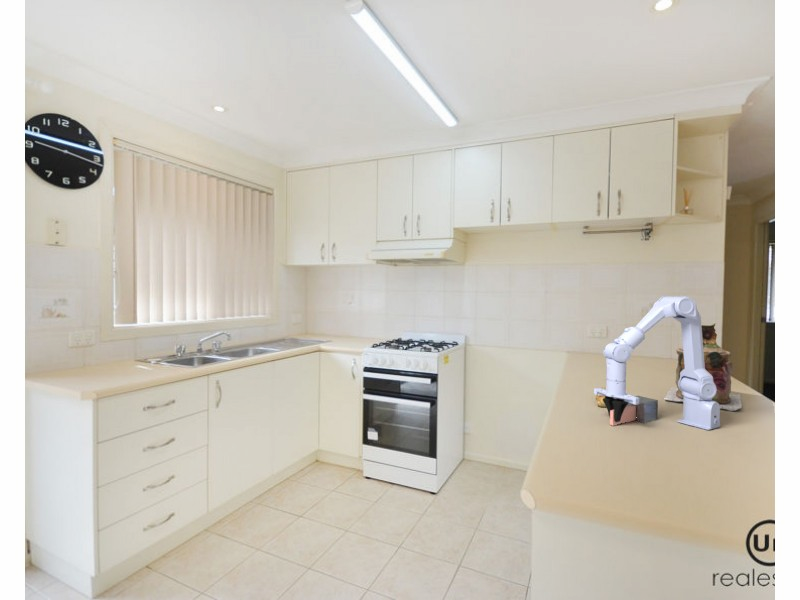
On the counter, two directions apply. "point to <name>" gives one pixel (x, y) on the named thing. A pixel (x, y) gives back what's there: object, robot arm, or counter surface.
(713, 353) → the cookie jar
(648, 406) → the grey cube
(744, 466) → the counter surface
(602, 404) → the croissant
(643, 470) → the counter surface
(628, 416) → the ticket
